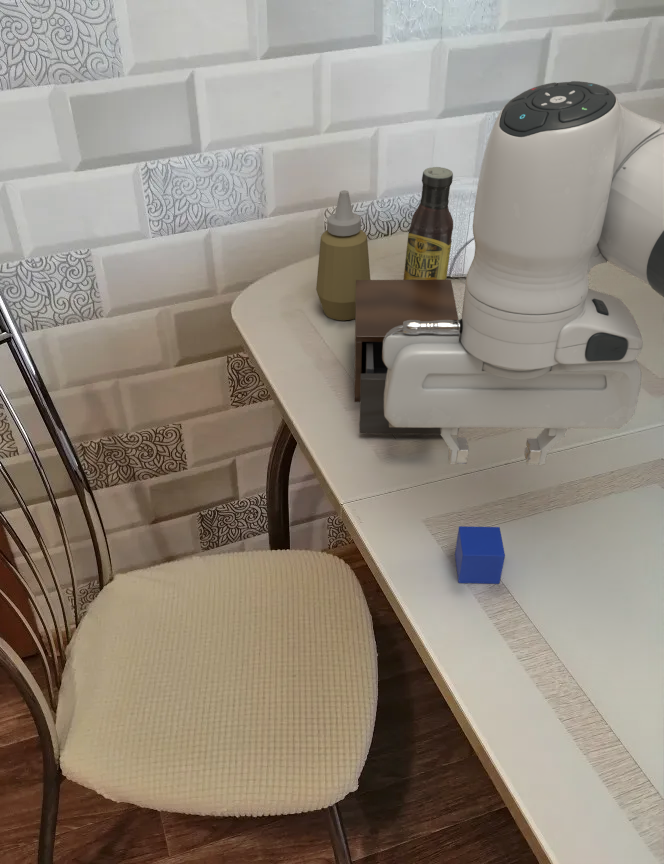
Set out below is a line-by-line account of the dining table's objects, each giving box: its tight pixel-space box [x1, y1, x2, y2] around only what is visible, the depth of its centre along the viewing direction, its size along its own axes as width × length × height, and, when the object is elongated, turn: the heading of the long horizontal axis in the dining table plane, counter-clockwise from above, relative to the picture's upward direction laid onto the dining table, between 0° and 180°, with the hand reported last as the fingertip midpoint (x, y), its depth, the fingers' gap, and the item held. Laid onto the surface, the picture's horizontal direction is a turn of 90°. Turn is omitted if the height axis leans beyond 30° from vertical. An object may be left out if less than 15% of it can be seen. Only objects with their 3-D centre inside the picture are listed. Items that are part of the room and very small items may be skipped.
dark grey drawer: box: [358, 342, 441, 435], centre depth 96 cm, size 18×11×8 cm, turn 177°
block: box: [454, 525, 506, 585], centre depth 78 cm, size 4×4×4 cm
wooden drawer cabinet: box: [353, 278, 459, 403], centre depth 104 cm, size 15×13×10 cm
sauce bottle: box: [402, 166, 454, 280], centre depth 113 cm, size 6×6×20 cm
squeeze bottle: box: [315, 190, 371, 321], centre depth 113 cm, size 8×8×18 cm
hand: (495, 460), depth 70 cm, fingers open, 5 cm apart
